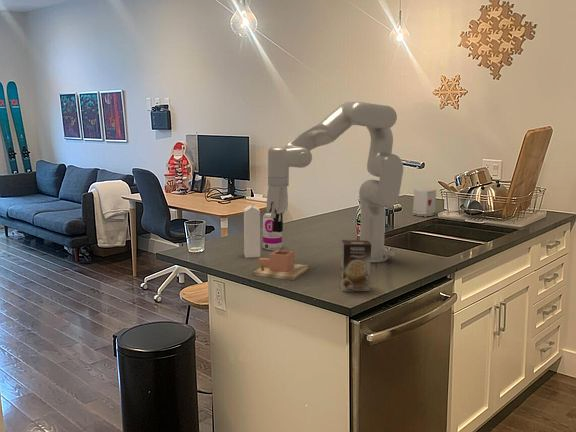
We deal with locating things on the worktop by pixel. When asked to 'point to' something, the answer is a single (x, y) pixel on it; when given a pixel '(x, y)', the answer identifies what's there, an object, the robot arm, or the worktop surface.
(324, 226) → the worktop surface
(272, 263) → the square nut with handle
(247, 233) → the milk
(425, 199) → the supplement box
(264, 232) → the supplement can
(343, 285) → the coffee box
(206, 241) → the worktop surface
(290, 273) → the post base
